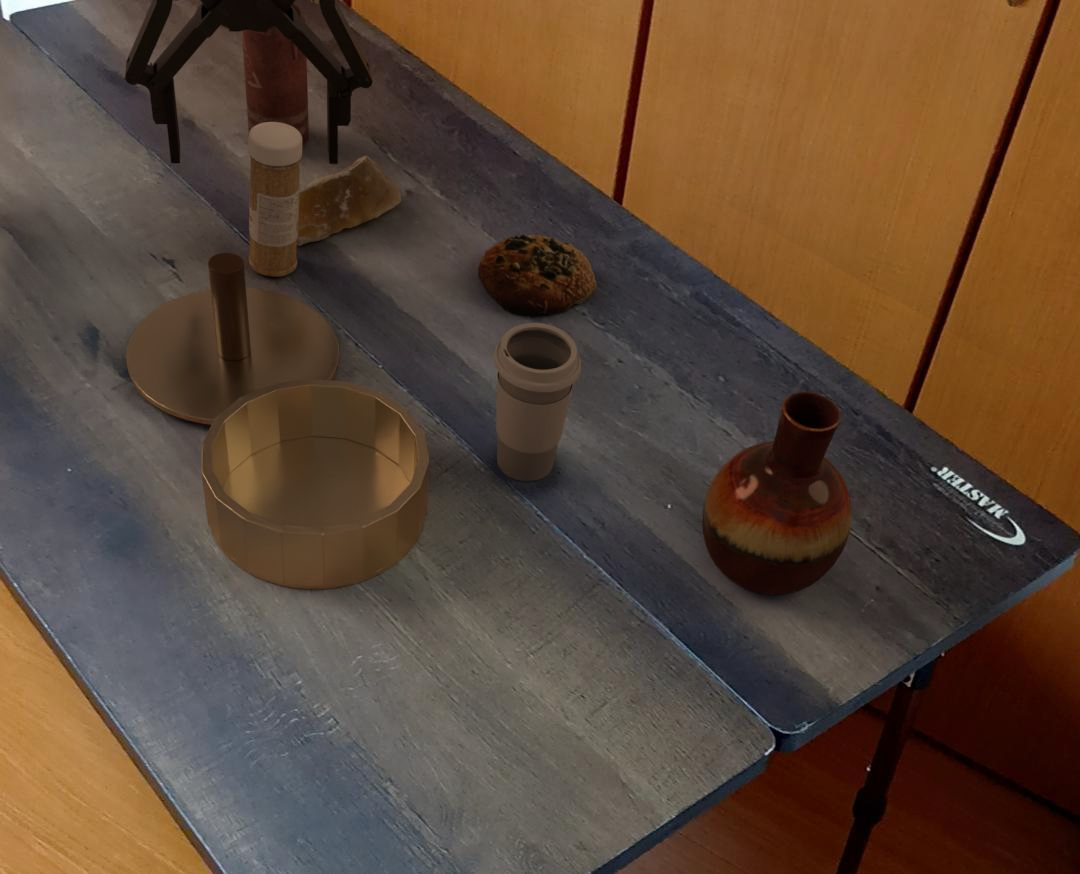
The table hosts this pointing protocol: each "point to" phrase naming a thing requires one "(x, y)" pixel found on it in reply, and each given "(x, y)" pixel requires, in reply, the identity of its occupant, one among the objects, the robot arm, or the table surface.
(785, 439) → the vase
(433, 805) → the table surface
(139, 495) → the table surface
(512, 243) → the bread roll
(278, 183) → the sprinkles bottle
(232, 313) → the pot lid
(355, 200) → the stone
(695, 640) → the table surface
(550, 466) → the cup
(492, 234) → the table surface
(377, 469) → the pot
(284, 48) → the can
